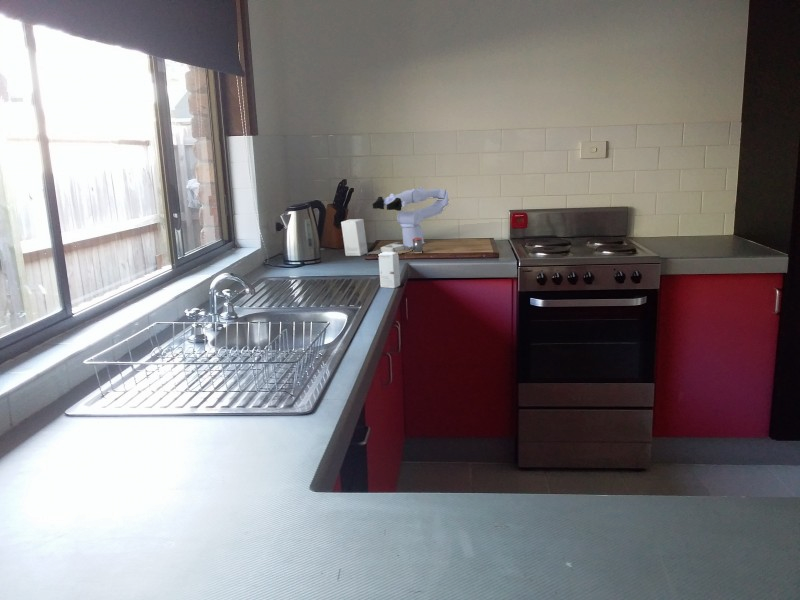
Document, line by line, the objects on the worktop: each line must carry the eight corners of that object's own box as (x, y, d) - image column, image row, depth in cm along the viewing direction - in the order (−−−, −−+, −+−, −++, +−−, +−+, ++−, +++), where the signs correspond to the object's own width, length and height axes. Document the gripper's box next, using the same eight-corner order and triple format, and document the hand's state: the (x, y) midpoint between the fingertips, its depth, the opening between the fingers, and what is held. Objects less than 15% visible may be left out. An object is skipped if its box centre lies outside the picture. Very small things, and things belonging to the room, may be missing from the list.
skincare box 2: (380, 287, 246) (376, 254, 242) (386, 284, 249) (383, 251, 246) (395, 288, 242) (392, 254, 239) (401, 285, 246) (398, 251, 243)
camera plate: (394, 247, 318) (394, 240, 318) (418, 249, 309) (417, 242, 308) (367, 255, 306) (366, 248, 305) (391, 257, 296) (390, 250, 296)
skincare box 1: (368, 253, 311) (364, 218, 307) (359, 256, 305) (355, 221, 301) (352, 253, 315) (349, 218, 311) (344, 256, 310) (340, 221, 306)
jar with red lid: (417, 252, 303) (416, 237, 302) (425, 252, 300) (423, 237, 299) (411, 254, 300) (410, 239, 299) (419, 254, 298) (417, 239, 296)
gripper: (385, 190, 314) (366, 196, 304) (411, 192, 305) (392, 198, 295) (386, 206, 316) (367, 212, 306) (412, 208, 307) (394, 215, 297)
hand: (380, 206), depth 301 cm, fingers open, 7 cm apart
